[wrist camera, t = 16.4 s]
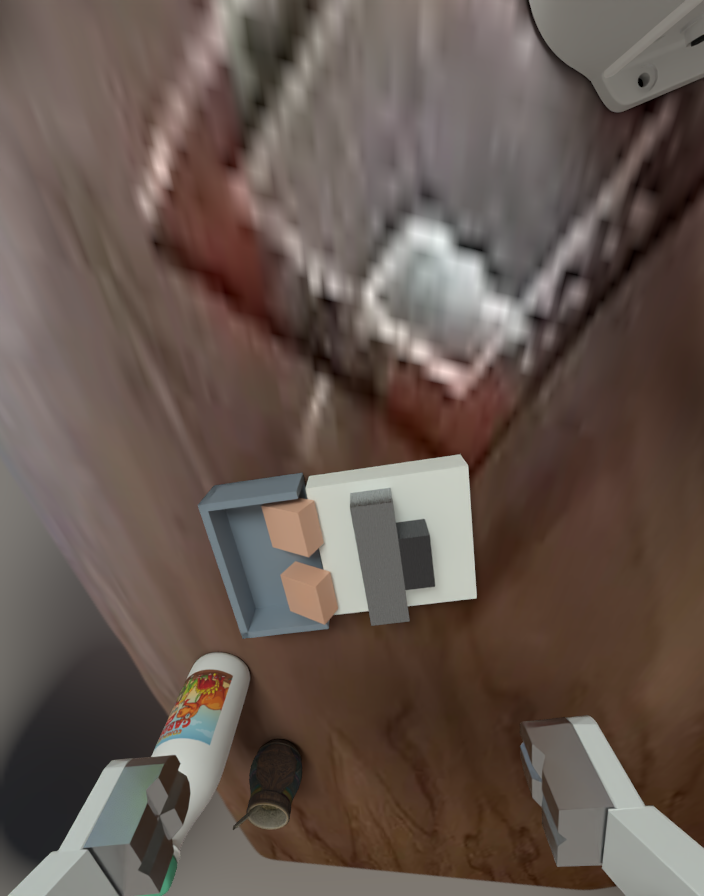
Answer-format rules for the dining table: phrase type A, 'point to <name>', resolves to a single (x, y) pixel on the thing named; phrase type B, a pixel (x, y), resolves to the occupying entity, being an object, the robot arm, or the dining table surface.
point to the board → (414, 497)
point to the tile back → (310, 592)
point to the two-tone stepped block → (389, 555)
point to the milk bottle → (203, 733)
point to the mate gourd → (273, 784)
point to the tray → (255, 554)
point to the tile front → (293, 525)
